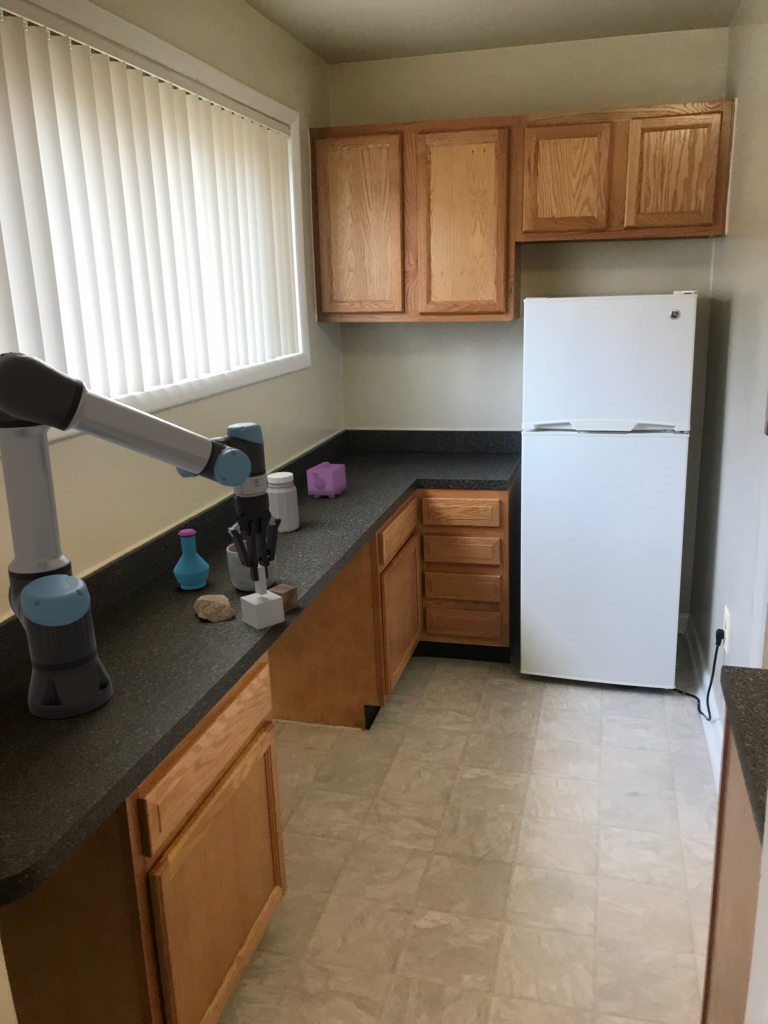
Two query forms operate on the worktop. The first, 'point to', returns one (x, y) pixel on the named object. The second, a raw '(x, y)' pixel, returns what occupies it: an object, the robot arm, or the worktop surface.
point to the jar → (283, 500)
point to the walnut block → (286, 596)
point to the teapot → (326, 479)
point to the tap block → (262, 609)
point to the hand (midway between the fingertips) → (261, 592)
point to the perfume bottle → (190, 563)
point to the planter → (246, 571)
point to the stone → (213, 608)
